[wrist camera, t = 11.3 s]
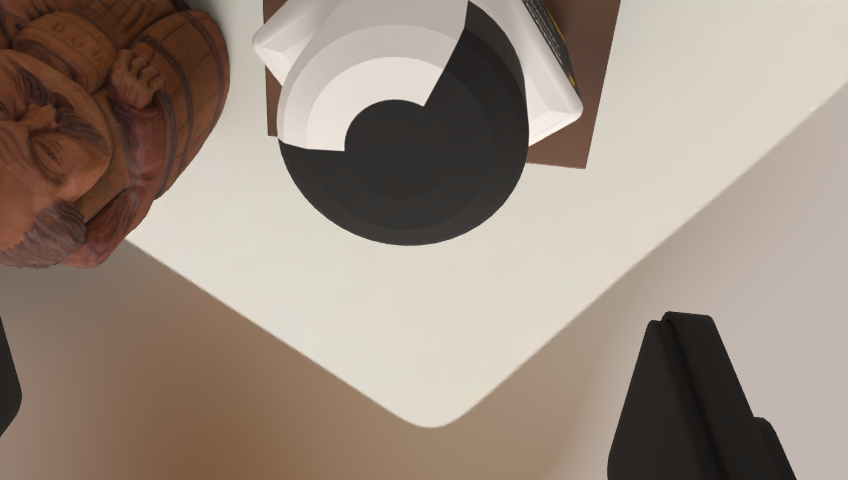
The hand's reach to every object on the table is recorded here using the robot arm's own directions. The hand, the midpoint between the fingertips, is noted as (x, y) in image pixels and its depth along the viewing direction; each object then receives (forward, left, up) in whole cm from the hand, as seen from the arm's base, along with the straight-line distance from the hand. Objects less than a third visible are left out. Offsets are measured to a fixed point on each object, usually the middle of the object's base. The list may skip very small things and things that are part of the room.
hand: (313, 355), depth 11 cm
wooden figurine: (+5, -15, -30) cm, 34 cm away
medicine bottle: (0, 0, -20) cm, 20 cm away
